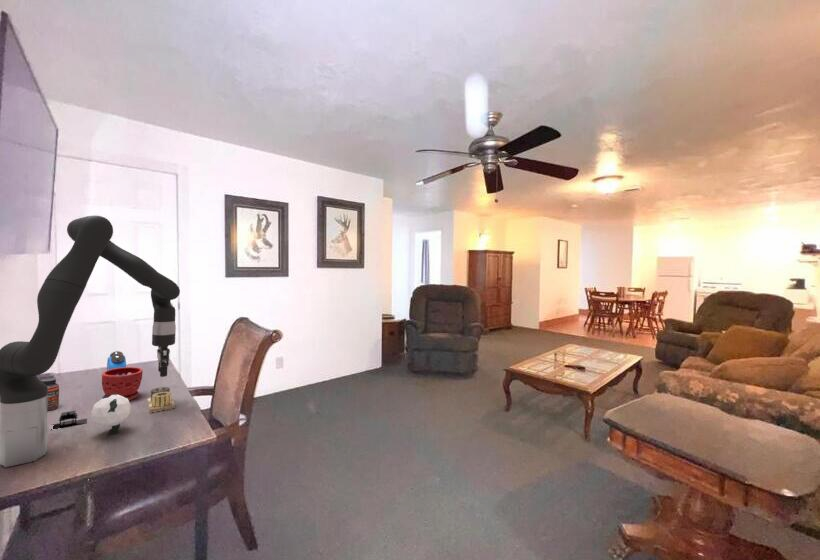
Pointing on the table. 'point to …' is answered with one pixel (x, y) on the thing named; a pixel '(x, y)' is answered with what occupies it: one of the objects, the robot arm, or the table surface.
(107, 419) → the figurine
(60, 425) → the black flared hood
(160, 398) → the brass gear
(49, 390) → the supplement bottle
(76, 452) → the table surface
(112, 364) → the alarm clock
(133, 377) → the plant pot
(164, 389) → the gear board
